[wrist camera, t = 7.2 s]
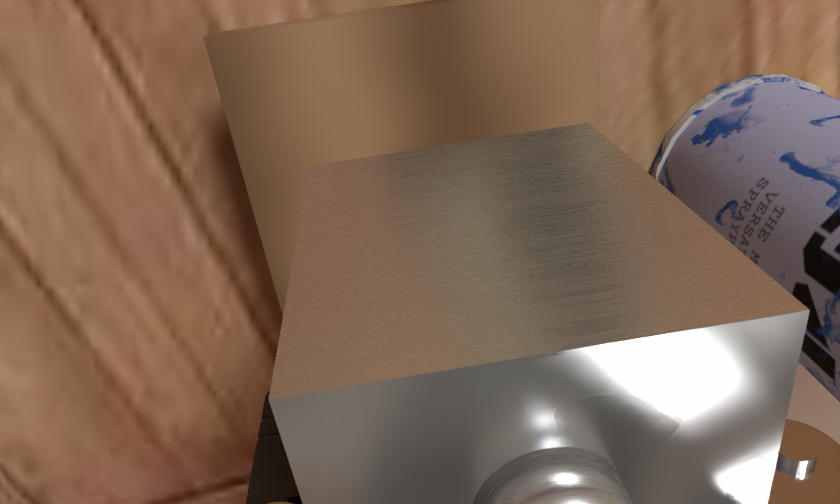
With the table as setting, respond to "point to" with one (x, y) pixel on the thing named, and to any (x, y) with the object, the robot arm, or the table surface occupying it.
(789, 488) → the robot arm
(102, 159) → the table surface
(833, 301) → the aerosol can
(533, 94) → the stand
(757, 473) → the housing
